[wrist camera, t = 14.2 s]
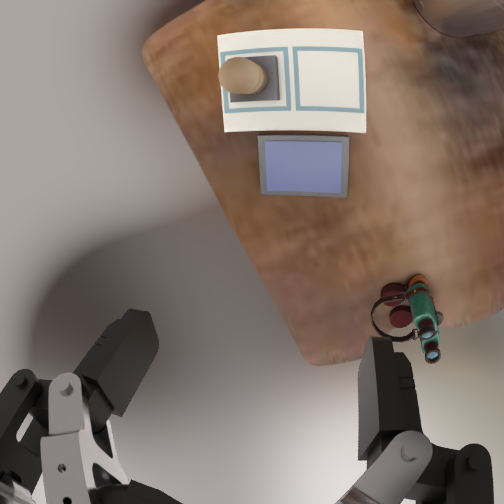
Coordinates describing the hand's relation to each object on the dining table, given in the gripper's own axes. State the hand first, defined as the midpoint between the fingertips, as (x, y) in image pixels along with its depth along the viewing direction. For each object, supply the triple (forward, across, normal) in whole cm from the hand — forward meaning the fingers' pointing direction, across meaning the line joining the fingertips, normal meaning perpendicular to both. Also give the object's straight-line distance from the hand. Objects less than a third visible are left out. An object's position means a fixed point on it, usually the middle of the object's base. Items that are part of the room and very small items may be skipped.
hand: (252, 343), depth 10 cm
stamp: (+26, +5, -10) cm, 29 cm away
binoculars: (+27, -16, +18) cm, 37 cm away
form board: (+27, +1, -10) cm, 29 cm away
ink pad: (+27, 0, 0) cm, 27 cm away
